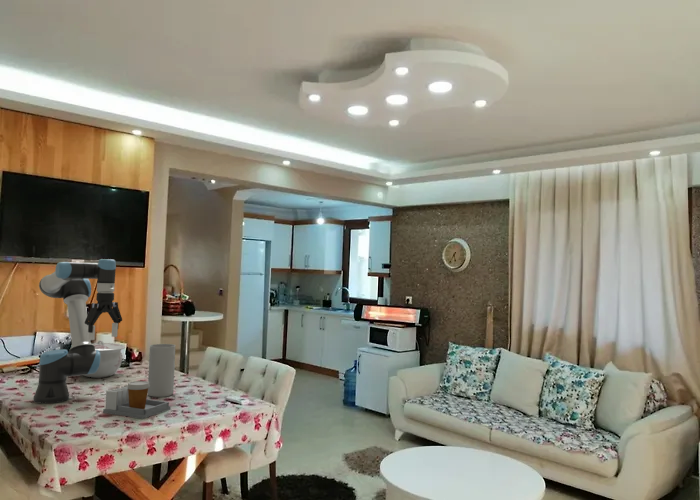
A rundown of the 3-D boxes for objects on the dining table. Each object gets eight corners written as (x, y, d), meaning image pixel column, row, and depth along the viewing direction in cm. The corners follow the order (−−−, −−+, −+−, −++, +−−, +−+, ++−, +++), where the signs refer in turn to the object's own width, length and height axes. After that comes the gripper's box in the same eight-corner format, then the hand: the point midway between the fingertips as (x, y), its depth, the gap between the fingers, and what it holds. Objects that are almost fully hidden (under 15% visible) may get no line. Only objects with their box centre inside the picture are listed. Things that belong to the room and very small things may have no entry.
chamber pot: (111, 381, 305) (113, 344, 306) (63, 379, 306) (65, 342, 306) (132, 371, 333) (133, 338, 334) (87, 370, 334) (89, 336, 334)
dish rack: (170, 409, 250) (171, 388, 251) (142, 418, 233) (143, 396, 234) (132, 403, 258) (133, 383, 258) (103, 412, 241) (104, 391, 242)
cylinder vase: (143, 394, 278) (145, 345, 279) (165, 390, 287) (167, 343, 288) (154, 398, 269) (157, 348, 270) (177, 395, 278) (180, 346, 279)
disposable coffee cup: (141, 413, 236) (142, 385, 237) (121, 411, 238) (122, 384, 238) (152, 408, 246) (154, 381, 246) (133, 406, 247) (134, 380, 248)
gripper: (90, 293, 239) (87, 341, 238) (131, 292, 262) (129, 336, 261) (77, 292, 241) (74, 340, 240) (119, 291, 265) (117, 334, 264)
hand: (103, 338), depth 251 cm, fingers open, 13 cm apart
